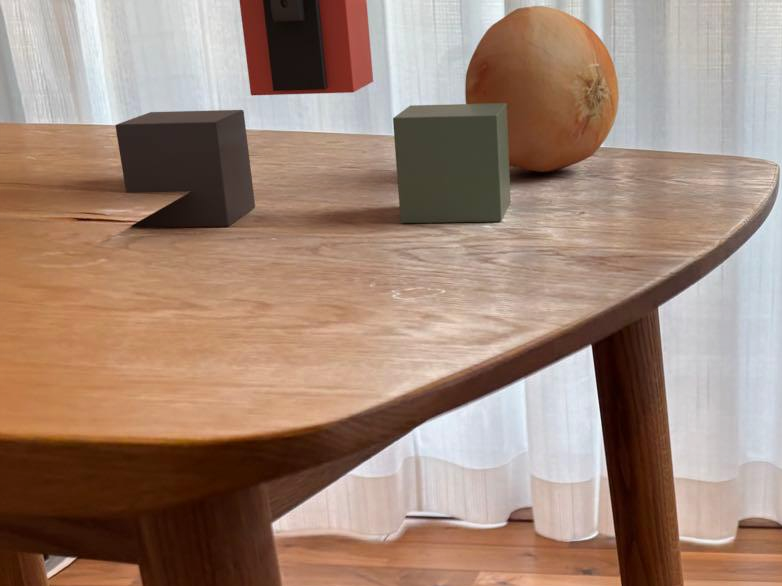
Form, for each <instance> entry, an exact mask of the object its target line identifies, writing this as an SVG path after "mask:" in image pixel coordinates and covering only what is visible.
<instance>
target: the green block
mask: <svg viewBox="0 0 782 586" xmlns="http://www.w3.org/2000/svg"><path fill="white" fill-rule="evenodd" d="M392 124H393V139H394V150H395V164H396V179H397V190H398V191H397V193H398V205H399V206H398V207H399V216H400V223H401V224H431V223H432V224H438V223H439V224H441V223H443V224H445V223H446V224H447V223H494V222H495V223H497V222H499V223H500V222H502V221H503V219H504V216H505V215H506V213H507V211H508V208H509V206H510V205H511V202H512V201H511V200H512V199H511V177H510V176H511V175H510V166H509V149H508V124H507V104H506V103H491V104H466V103H456V104H455V103H454V104H453V103H452V104H451V103H450V104H419V105H418V104H417V105H414V104H413V105H409V106H407V107H406V108H405V109H404V110H402V111H401V112H400V113H398V114H397V115H395V116H394V117H393V119H392Z"/></svg>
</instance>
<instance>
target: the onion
mask: <svg viewBox="0 0 782 586" xmlns="http://www.w3.org/2000/svg"><path fill="white" fill-rule="evenodd" d="M464 90H465V92H464V93H465V104H491V103H506V104H507V124H508V149H509V167H512V168H516V169H521V170H526V171H527V170H528V171H531V172H538V173H539V172H540V173H546V172H547V173H548V172H555V171H559V170H561V169H565V168H567V167H572V166H573V165H577V164H578V163H580V162H581V163H582V162H583V161H584V160H587V159H589V158H590V157H592V156H593V155H594V154H595V153H596V152H597V151H598V150H599V149H600V148H601V146H602V145H603V144H604V142H605V141H606V139H607V138H608V136H609V134H610V132H611V130H612V128H613V126H614V123H615V121H616V118H617V113H618V108H619V96H620V95H619V82H618V78H617V72H616V68H615V64H614V62H613V59H612V57H611V54H610V53H609V51H608V48H607V46H606V45H605V43H604V42H603V40H602V39H601V37H600V36H599V35H598V34H597V33H596V32H595V30H593V29H592V28H591V27H590V26H588V25H587V24H586V23H585V22H583V21H582V20H580V19H579V18H577V17H575V16H573V15H571V14H569V13H567V12H565V11H562V10H560V9H557V8H553V7H551V6H543V5H534V6H533V5H532V6H525V7H519V8H516V9H514V10H513V11H511V12H509V13H508V14H506V15H505V16H503V17H502V18H501V19H499V20H497V21H496V22H495V23H494V24H492V25H491V26H490V27H489V28H488V29H487V30H486V31H485V33H484V34H483V36H482V37H481V39H480V40H479V42H478V44H477V46H476V48H475V50H474V52H473V54H472V55H471V58H470V61H469V63H468V66H467V69H466V74H465V89H464Z"/></svg>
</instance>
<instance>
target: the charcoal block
mask: <svg viewBox="0 0 782 586" xmlns="http://www.w3.org/2000/svg"><path fill="white" fill-rule="evenodd" d="M246 127H247V126H246V120H245V110H243V109H219V110H218V109H217V110H181V111H179V110H178V111H176V110H175V111H149V112H147V113H144V114H141V115H139V116H136V117H133V118H130V119H128V120H125V121H122V122H119V123H116V124H115V131H116V138H117V145H118V150H119V157H120V164H121V170H122V175H123V176H122V177H123V182H124V189H125V194H126V193H128V194H132V193H133V194H134V193H135V194H137V193H138V194H139V193H183V192H184V193H185V192H188V193H186V194H184V195H183V196H181V197H179V198H177V199H175V200H174V201H172V202H170V203H168V204H167V205H165V206H163V207H161V208H160V209H158V210H156V211H155V212H153V213H150V214H149V215H147V216H145V217H143V218H142V219H139V221H137V222H135V223H133V224H131V228H132V229H157V228H161V229H162V228H163V229H164V228H166V229H167V228H214V227H217V228H219V227H230V226H231V225H232V224H234V223H236V221H238V220H239V219H241V218H242V217H244V216H245V215H246V214H248V213H249V212H251V211H252V210H254V209H255V208H256V202H255V193H254V186H253V185H254V184H253V176H252V168H251V160H250V151H249V144H248V136H247V128H246Z"/></svg>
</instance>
